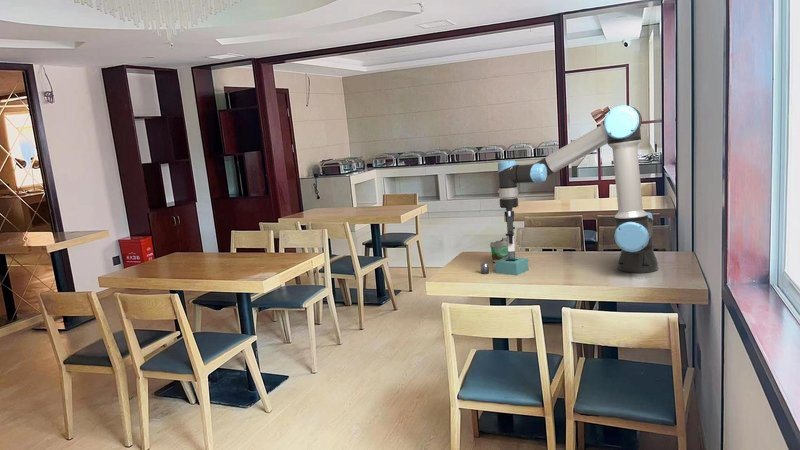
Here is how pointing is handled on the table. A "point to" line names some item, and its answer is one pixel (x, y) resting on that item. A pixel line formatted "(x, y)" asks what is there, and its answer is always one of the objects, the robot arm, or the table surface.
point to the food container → (499, 249)
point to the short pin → (484, 268)
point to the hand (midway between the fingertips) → (511, 247)
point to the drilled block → (511, 266)
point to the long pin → (511, 253)
